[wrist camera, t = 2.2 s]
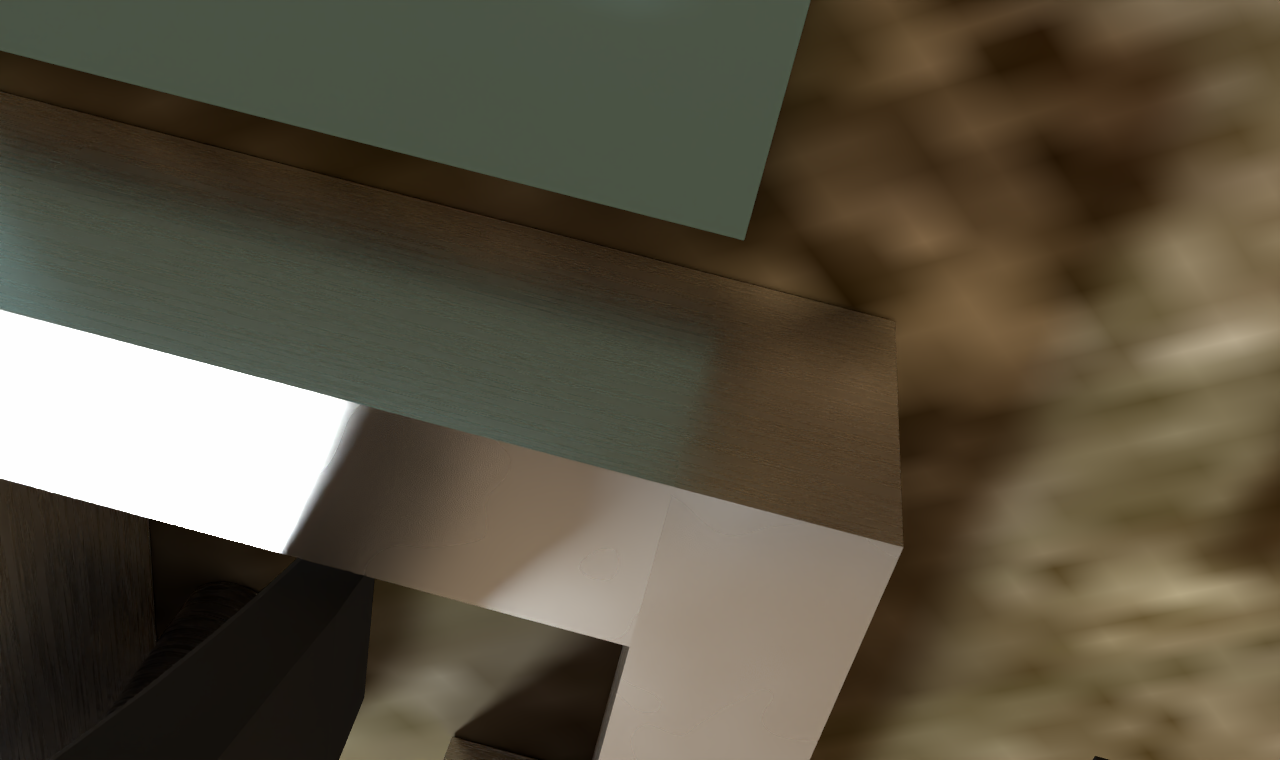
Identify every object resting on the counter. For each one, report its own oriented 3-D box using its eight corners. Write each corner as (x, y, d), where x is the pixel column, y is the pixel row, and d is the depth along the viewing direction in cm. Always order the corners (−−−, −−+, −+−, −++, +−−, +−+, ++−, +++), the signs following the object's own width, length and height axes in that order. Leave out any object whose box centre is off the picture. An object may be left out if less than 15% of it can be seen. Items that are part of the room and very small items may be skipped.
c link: (49, 705, 17) (-113, 915, 15) (-42, 81, 12) (-336, 221, 9) (684, 879, 17) (645, 1130, 14) (894, 321, 12) (903, 547, 9)
